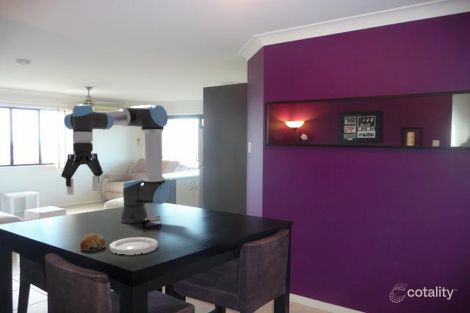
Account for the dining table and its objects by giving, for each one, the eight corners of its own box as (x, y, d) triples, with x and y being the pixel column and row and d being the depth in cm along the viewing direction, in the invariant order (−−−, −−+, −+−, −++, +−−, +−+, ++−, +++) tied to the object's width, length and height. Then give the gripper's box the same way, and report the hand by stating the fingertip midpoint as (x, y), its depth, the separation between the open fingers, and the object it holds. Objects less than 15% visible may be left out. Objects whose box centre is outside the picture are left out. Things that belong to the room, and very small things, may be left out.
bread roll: (107, 254, 158) (109, 235, 161) (99, 250, 148) (102, 231, 151) (83, 254, 157) (86, 236, 160) (75, 251, 148) (78, 231, 151)
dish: (136, 239, 168) (136, 235, 168) (166, 246, 157) (166, 241, 157) (100, 249, 152) (100, 245, 152) (131, 257, 141) (131, 252, 141)
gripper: (98, 142, 166) (98, 188, 167) (51, 141, 143) (51, 195, 144) (111, 142, 163) (111, 189, 164) (65, 141, 140) (65, 196, 141)
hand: (83, 192), depth 154 cm, fingers open, 13 cm apart
